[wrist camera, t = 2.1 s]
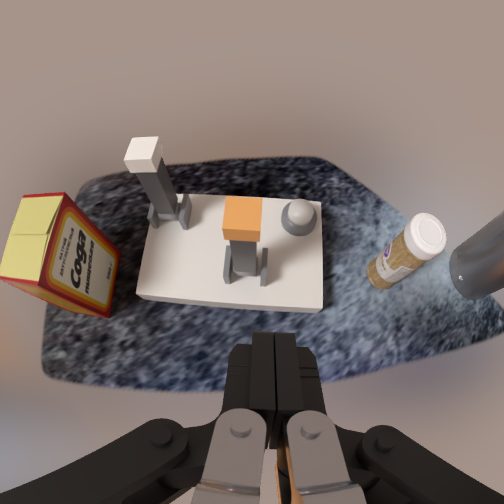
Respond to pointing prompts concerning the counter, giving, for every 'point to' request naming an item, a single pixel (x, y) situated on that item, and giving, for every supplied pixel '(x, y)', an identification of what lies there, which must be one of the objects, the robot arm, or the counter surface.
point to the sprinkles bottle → (408, 251)
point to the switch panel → (221, 263)
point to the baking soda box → (60, 256)
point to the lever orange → (243, 232)
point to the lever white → (153, 175)
